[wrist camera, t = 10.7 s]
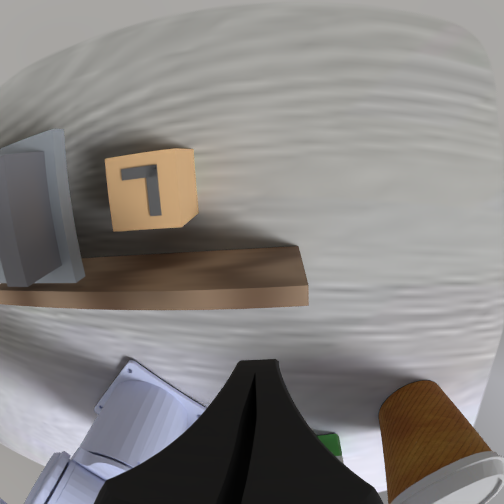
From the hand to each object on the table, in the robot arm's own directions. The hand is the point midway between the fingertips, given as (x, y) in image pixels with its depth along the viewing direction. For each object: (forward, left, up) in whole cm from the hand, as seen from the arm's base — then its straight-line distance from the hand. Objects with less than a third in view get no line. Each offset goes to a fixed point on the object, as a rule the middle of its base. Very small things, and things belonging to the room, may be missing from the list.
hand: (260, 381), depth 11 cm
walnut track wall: (-4, +7, -10) cm, 13 cm away
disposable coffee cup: (-2, -18, -11) cm, 21 cm away
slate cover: (-5, +14, -5) cm, 16 cm away
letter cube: (+1, +9, -10) cm, 14 cm away
